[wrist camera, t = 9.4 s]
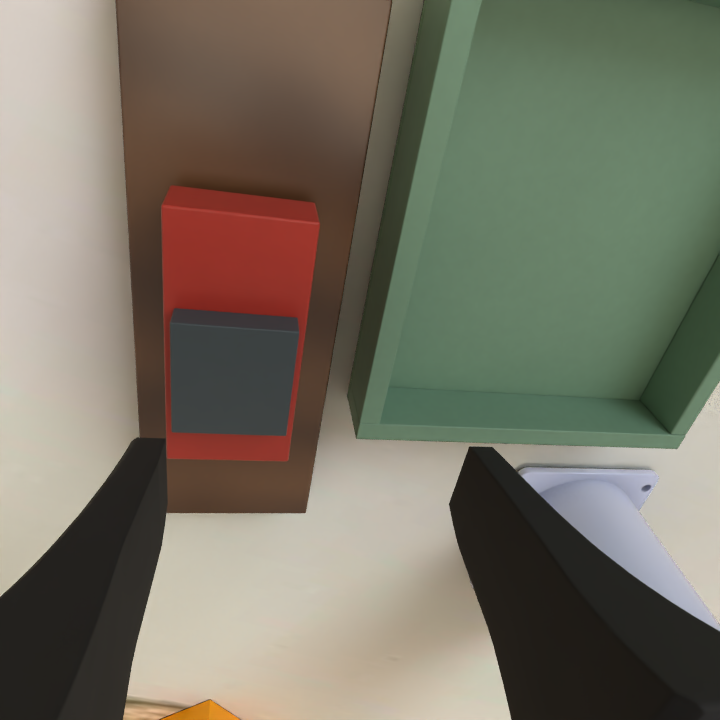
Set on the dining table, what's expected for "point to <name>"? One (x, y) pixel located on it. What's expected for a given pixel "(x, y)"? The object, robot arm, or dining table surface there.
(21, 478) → the dining table surface
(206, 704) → the orange juice
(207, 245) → the toy car
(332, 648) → the dining table surface
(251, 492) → the board
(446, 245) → the tray
